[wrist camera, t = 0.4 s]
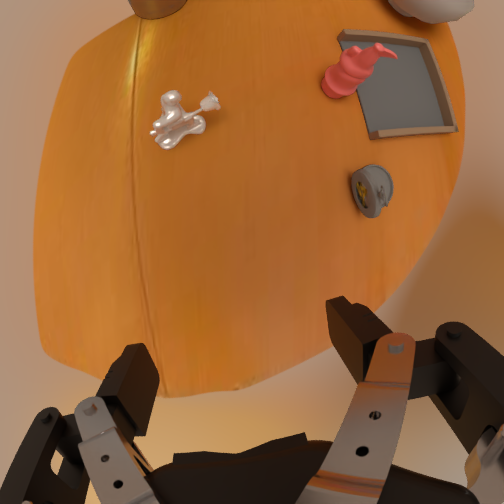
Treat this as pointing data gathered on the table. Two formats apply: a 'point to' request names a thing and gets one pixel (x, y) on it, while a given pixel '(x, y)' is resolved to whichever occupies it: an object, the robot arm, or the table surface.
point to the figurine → (180, 119)
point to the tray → (402, 87)
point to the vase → (433, 9)
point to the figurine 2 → (352, 69)
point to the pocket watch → (372, 189)
